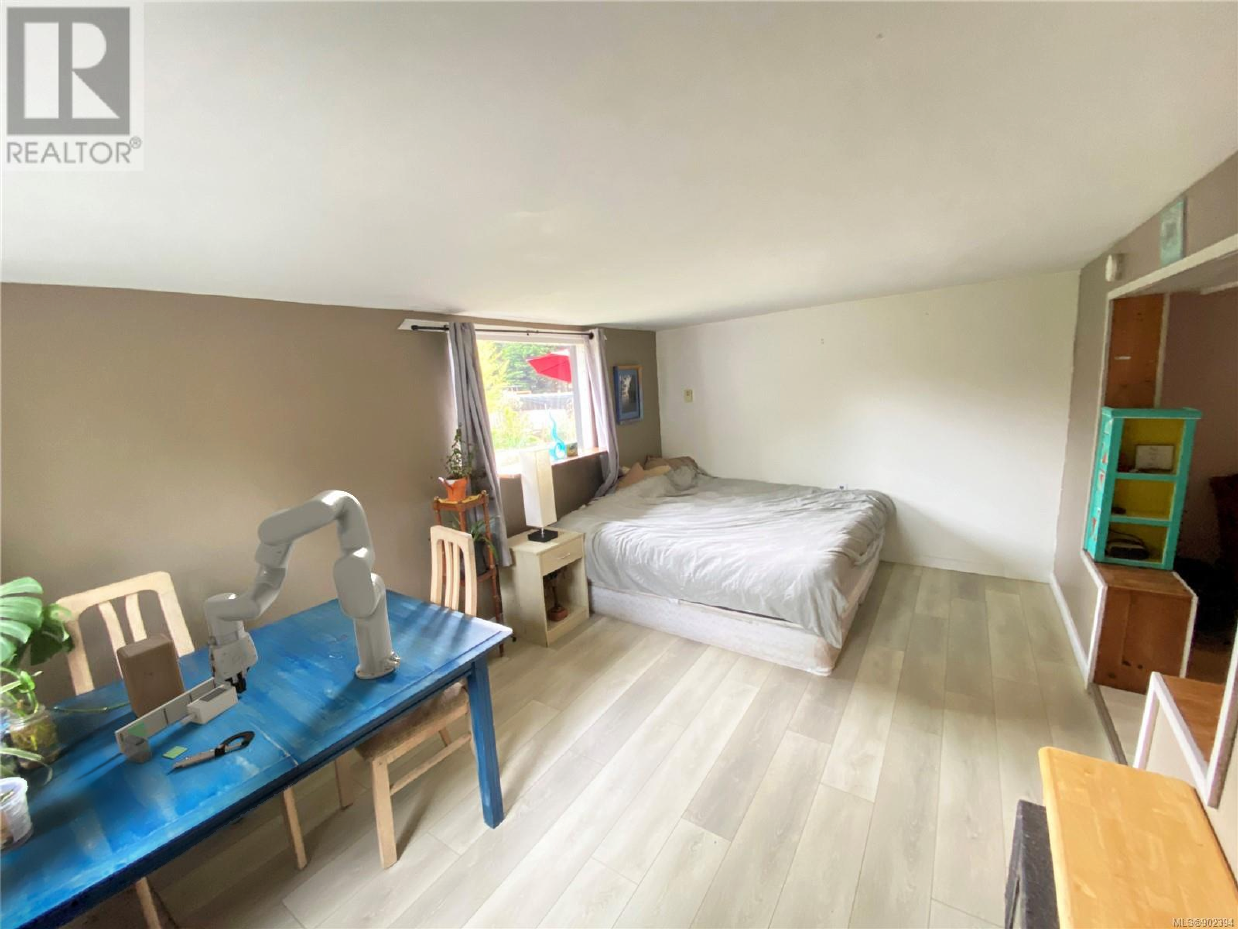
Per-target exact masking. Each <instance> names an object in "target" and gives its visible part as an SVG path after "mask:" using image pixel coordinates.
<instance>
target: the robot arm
mask: <svg viewBox="0 0 1238 929" xmlns="http://www.w3.org/2000/svg"><path fill="white" fill-rule="evenodd" d="M365 512H366V511H365V510H364V507H363V505H362V504H361V502H360V501H359V500H358V499H357V498H356V497H355V496H353V495H352V494H350V493H348V492H346V491H342V490H339V489H328V490H324V491H321V492H320V493H318V494H316V495H315V496H313V497H312V498H311V499H309V500H307V501H306V502H304V503H302V504H299V505H297V506H294V507H292V508H284V509H280V510H277V511H276V512H273V513H272V514H270V515H269V516H268V517H265V519H263V520H262V521H261V522H260V524H259V525H258V528H257V537H258V539H259V541H260V542H259V543H258V544H259V545H258V547H257V549H256V550H255V553H254V556H253V560H254V561H255V562H256V563H257V565H259V567H258V570H257V573H256V575H255V578H254V580H253V583H252V584H251V586H250V587H249V588H248V589H247V590H246V591H245V592H244V593H242V594H240V595H239V596H238V595H237V594H236V593H233V592H223V593H218V594H216V595H213V596H211V597H209V598H207V599H206V600H205V601H204V602H203V605H202V606H203V610H204V611H203V612H204V615H205V619H206V625H207V628H208V629H207V630H208V632H209V634H208V635H209V640H207V641H206V642H205V645H206V646H207V647H209V654H208V655H209V656H208V657H209V658H208V660H209V668H210V673H211V676H212V677H213V678H215V679H214V684H221V683H224V682H226V681H227V682H230V683H231V686H233V687H235V689H236V694H240V695H241V694H243V693H244V692H246V691H247V681H246V677H248V672H249V670H250V668H251V667H253V666H254V665H255V664H256V663H257V661H258V659H259V657H258V652H257V649H256V647H255V646H256V645H255V643H254V641H253V638H252V637H251V635H250V633H249V632H248V631H245V627H244V626H245V625H244V622H249V621H253V620H255V619H257V618H259V617H260V616H261V615H262V614H263V613H264V612H265V611H266V610H267V609H268V608H269V606H270V605H272V603H274V601H275V600H276V598H277V597H278V595H279V593H280V591H281V588H282V586H283V584H284V583H285V582H284V581H285V579H286V576H287V574H288V568H289V563H290V560H291V558H292V555H293V553H294V551H295V548H296V546H297V544H298V541H299V540H300V539H301V538H303V537H305V536H308V535H310V534H312V533H315V532H317V531H320V530H321V529H324V528H326V527H328V526H329V525H330V524H332V523H333V522H335V527H336V538H337V540H338V545H339V549H340V550H339V551H340V554H339V556H338V557H337V559H336V560H335V562H334V564H333V567H332V568H333V569H332V576H333V577H332V578H333V582H334V586H335V590H336V594H337V599H338V602H339V606H340V608H341V610H342V613H343V614H344V615H345V616H346V617H348V618H350V619H352V621H353V629H354V633H355V634H354V635H355V639H356V640H355V641H356V648H357V652H358V658H359V659H358V660H359V664H358V665H357V666H356V667H355V675H356V677H357V678H359V679H362V680H373V679H377V678H380V677H382V676H385V675H388V674H389V673H392V671H394V670H395V669H399V667H400V665H401V664H400V663H401V662H402V661H403V659H402V657H399V656H400V655H398V654H397V653H396V651H394V650H393V645H392V644H393V643H392V638H391V629H390V625H389V624H390V622H389V615H388V607H387V591H386V585H385V582H384V579H383V578H382V577H381V576H380V575H379V574H377V573H374V572H372V568H373V566H374V565H375V562H376V553H375V549H374V545H373V541H372V537H371V533H370V529H369V528H370V527H369V524H368V520H367V515H366V513H365Z"/></svg>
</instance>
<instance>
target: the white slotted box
mask: <svg viewBox="0 0 1238 929" xmlns="http://www.w3.org/2000/svg"><path fill="white" fill-rule="evenodd" d="M238 703H239V699H238V693H236V689H235V687H233V686H228V685H221V686H219V687H217V688H216V689H214V690H212V691H211V692H209V693H207V694H205V695H204V696H202V697H200V698H199V699H197V700H195V701H194V702H192V703H190V704H188V705H187V709H188V713H189V714H187V715H186V716H184V717H182V718H181V719H179V723H180V725H181V726H186V724H188V723H190V722H192V723H197V724H201V725H205V724H206V723H208V722H209V721H210V720H211V721H212V720H213V719H214V718H216V717H217V716H218V715H220V714H222V713H223V712H225V711H226V710H229V709H230V708H231V707H233V706H235V705H236V704H238Z"/></svg>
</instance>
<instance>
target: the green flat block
mask: <svg viewBox="0 0 1238 929" xmlns="http://www.w3.org/2000/svg"><path fill="white" fill-rule="evenodd" d="M187 751H188V748H186V747H182V746H178V745H176V746H174V747H173V748H171V749H169V750H168V751H167V752H165V753H164V754H162V757H166V758H169V759H172V760H174V759H176V758H177V757H179V756H180V755H182V754H183V753H185V752H187Z"/></svg>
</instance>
